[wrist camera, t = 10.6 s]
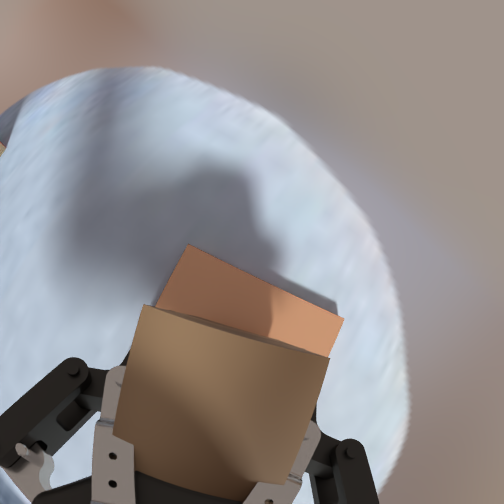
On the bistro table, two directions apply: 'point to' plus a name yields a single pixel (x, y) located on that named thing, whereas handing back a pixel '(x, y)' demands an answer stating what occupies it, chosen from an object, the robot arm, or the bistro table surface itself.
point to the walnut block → (215, 403)
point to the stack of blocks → (2, 148)
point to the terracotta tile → (246, 303)
